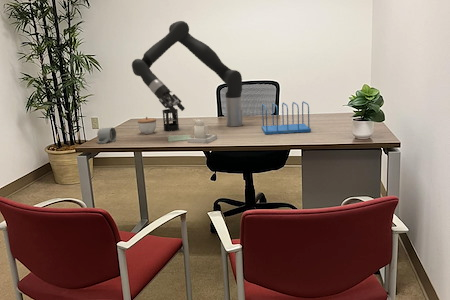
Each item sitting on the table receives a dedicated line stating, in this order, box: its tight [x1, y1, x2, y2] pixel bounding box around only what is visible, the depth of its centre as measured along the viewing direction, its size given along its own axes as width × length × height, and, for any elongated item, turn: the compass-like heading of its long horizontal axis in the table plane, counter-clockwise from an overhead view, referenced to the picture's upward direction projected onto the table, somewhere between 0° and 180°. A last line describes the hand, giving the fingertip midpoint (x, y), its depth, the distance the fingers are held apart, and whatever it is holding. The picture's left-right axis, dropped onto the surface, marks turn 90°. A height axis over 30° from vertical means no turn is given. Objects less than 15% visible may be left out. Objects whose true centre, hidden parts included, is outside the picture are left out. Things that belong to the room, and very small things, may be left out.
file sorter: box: [261, 101, 312, 135], centre depth 249 cm, size 25×17×15 cm
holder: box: [187, 134, 218, 144], centre depth 235 cm, size 11×11×2 cm
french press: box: [161, 90, 180, 132], centre depth 267 cm, size 12×9×23 cm
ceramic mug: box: [96, 126, 117, 145], centre depth 243 cm, size 11×8×8 cm
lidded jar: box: [137, 116, 157, 135], centre depth 262 cm, size 11×11×9 cm
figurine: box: [192, 118, 210, 139], centre depth 234 cm, size 8×6×11 cm
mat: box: [167, 134, 192, 143], centre depth 243 cm, size 12×12×1 cm
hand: (179, 111), depth 237 cm, fingers open, 8 cm apart
